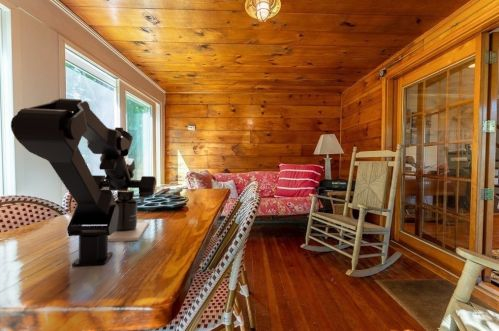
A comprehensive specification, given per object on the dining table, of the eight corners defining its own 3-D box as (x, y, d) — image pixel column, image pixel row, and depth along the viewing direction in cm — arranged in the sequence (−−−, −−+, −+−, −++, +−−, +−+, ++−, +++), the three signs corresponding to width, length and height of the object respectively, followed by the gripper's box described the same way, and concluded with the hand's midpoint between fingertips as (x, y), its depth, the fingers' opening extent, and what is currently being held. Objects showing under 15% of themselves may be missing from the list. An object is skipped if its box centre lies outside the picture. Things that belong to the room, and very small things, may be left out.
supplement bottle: (136, 230, 82) (137, 192, 82) (111, 232, 80) (112, 192, 79) (136, 225, 89) (137, 189, 88) (113, 227, 86) (114, 189, 86)
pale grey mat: (138, 240, 76) (138, 237, 76) (91, 241, 73) (91, 239, 73) (148, 224, 93) (148, 222, 93) (111, 225, 91) (111, 223, 91)
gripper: (155, 149, 81) (161, 182, 92) (89, 148, 79) (104, 182, 90) (149, 177, 74) (156, 210, 85) (75, 176, 71) (93, 210, 82)
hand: (127, 201), depth 86 cm, fingers open, 9 cm apart
